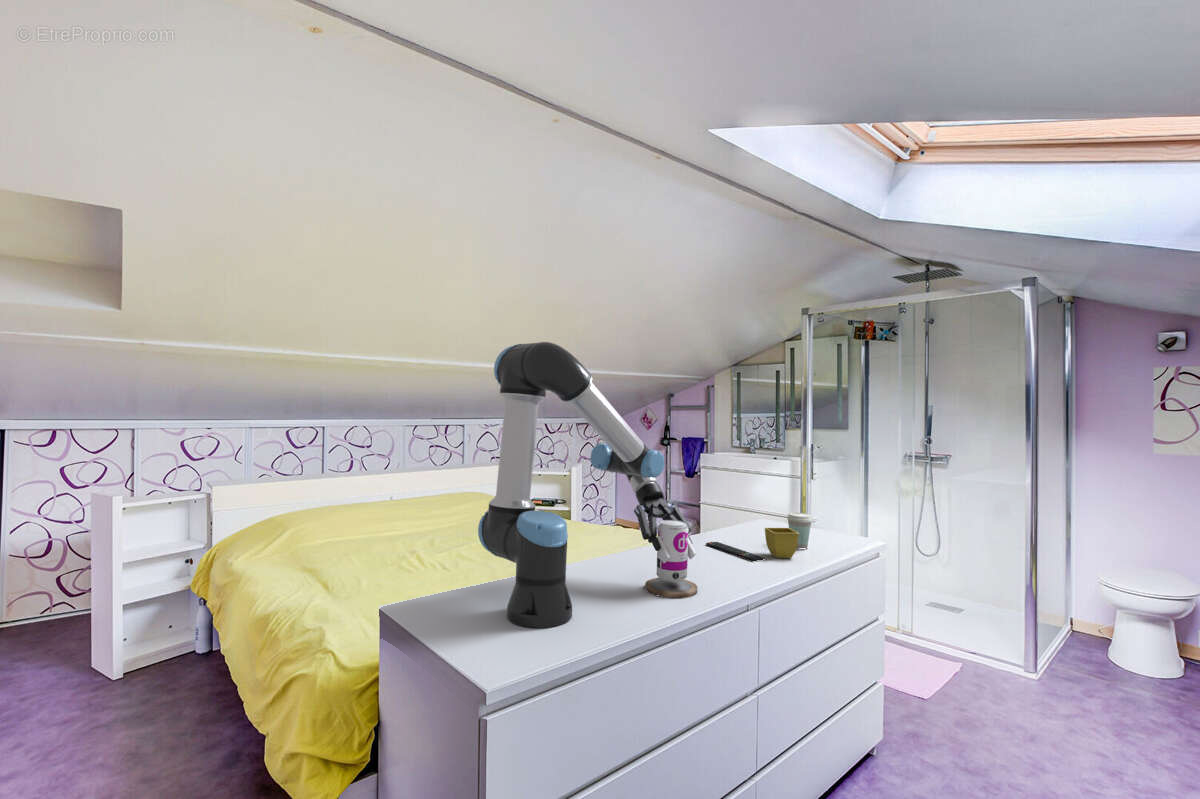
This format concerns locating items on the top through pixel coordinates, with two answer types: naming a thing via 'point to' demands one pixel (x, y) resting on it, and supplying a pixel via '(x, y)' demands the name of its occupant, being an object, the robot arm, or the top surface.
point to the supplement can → (673, 551)
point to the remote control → (735, 551)
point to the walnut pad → (671, 588)
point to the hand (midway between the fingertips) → (679, 558)
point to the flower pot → (781, 541)
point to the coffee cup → (800, 527)
